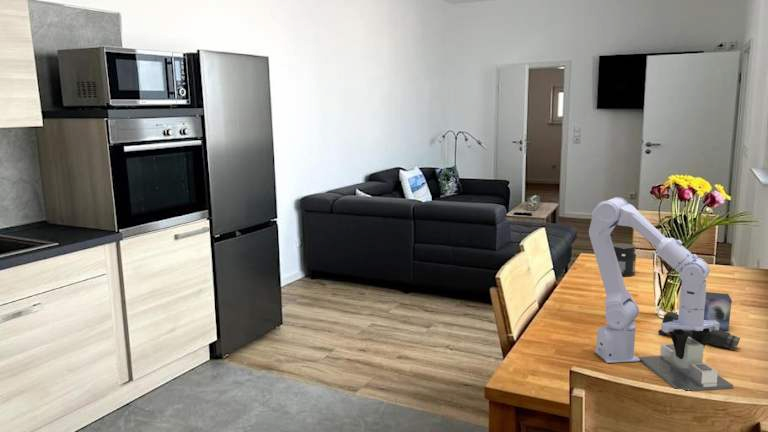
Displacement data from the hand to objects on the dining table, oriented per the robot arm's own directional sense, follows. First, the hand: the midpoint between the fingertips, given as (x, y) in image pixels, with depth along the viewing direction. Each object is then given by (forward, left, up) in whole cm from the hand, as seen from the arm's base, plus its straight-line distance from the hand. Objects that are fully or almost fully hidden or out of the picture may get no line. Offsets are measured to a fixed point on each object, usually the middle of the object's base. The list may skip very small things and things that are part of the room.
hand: (687, 356), depth 153 cm
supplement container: (+31, +94, -5) cm, 99 cm away
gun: (+16, +20, -5) cm, 26 cm away
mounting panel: (-1, 0, -4) cm, 5 cm away
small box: (+27, +31, -5) cm, 41 cm away
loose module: (0, 0, -2) cm, 2 cm away
